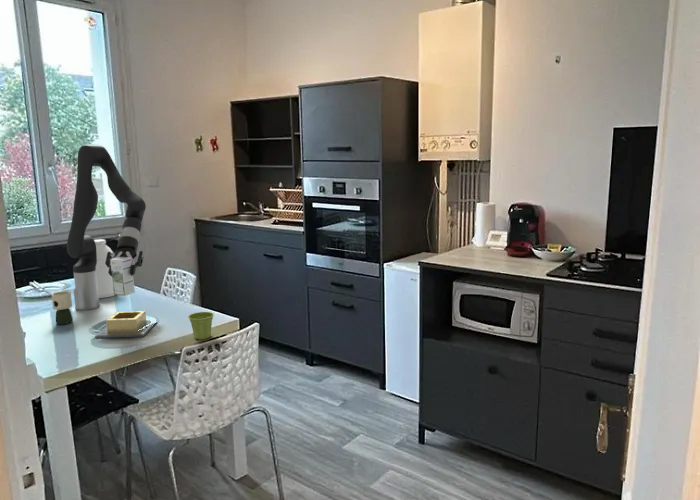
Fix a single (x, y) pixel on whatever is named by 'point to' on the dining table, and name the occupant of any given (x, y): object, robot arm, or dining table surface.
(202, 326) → the plant pot
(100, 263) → the bottle
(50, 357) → the dining table surface
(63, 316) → the character mug
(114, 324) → the hitch plate
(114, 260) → the syrup box
